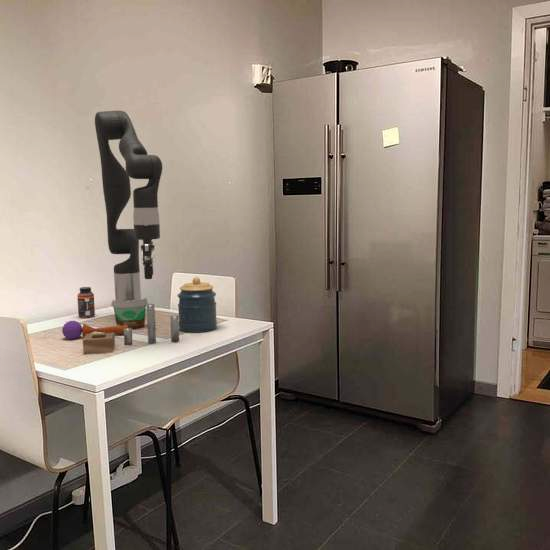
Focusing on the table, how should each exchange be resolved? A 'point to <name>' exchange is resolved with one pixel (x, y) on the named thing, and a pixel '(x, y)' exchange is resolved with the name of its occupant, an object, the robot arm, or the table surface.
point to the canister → (197, 307)
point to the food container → (130, 313)
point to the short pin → (128, 336)
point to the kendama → (88, 329)
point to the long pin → (151, 323)
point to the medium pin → (174, 328)
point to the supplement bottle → (86, 303)
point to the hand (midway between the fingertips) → (149, 277)
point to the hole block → (98, 343)
